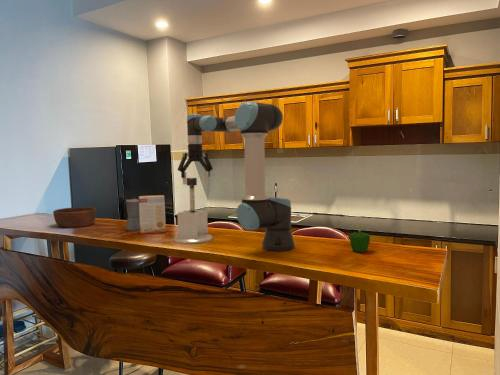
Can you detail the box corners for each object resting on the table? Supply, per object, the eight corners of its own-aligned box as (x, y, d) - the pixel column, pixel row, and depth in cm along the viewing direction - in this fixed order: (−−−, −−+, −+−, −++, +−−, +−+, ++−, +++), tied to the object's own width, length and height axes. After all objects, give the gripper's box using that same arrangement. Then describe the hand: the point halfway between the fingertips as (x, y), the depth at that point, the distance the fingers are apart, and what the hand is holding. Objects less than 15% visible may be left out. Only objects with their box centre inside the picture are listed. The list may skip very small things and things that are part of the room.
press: (219, 236, 195) (218, 209, 194) (201, 245, 176) (200, 215, 175) (185, 234, 202) (185, 208, 200) (165, 242, 183) (164, 213, 182)
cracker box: (165, 230, 213) (164, 194, 212) (165, 232, 208) (164, 195, 206) (140, 232, 210) (139, 195, 208) (140, 234, 204) (138, 196, 202)
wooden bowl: (75, 221, 251) (74, 206, 251) (105, 222, 244) (104, 207, 243) (44, 228, 228) (43, 211, 227) (76, 229, 220) (76, 212, 219)
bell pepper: (354, 248, 167) (354, 226, 166) (372, 250, 161) (372, 228, 161) (346, 251, 160) (346, 229, 159) (364, 254, 155) (364, 231, 154)
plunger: (203, 219, 190) (202, 177, 189) (196, 222, 183) (195, 178, 181) (189, 218, 193) (188, 177, 192) (181, 221, 185) (180, 178, 184)
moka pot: (141, 231, 212) (140, 197, 210) (117, 230, 215) (115, 196, 213) (149, 228, 221) (147, 195, 219) (125, 227, 224) (124, 195, 222)
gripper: (210, 144, 206) (211, 182, 207) (170, 143, 190) (171, 184, 191) (218, 143, 200) (219, 182, 201) (177, 142, 184) (178, 185, 185)
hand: (196, 183), depth 196 cm, fingers open, 13 cm apart
